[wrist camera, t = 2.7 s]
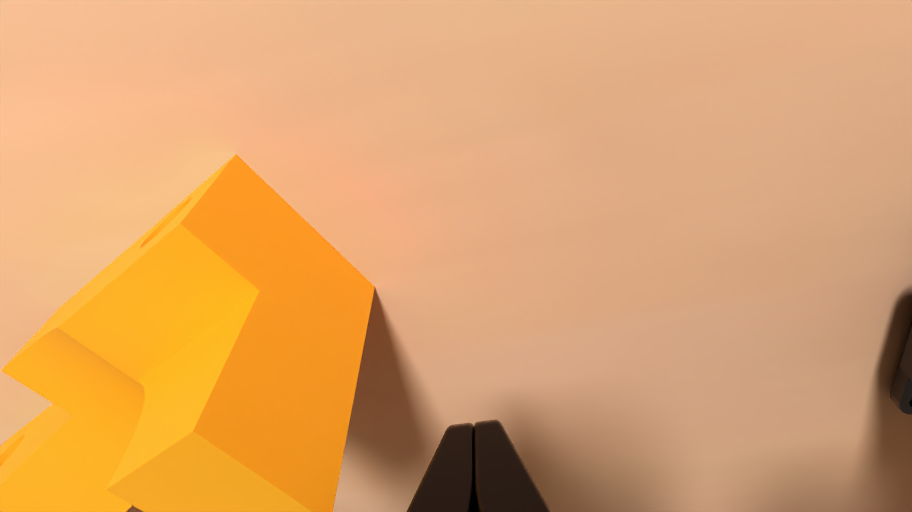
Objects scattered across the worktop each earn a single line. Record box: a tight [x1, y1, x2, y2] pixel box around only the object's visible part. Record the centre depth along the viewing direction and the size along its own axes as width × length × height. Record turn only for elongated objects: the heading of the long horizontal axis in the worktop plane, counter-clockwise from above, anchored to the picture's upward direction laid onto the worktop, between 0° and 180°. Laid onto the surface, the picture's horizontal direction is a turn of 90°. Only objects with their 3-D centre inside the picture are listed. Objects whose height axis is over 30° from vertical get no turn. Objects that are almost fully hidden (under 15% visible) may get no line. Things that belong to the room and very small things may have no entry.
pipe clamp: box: [0, 155, 375, 512], centre depth 13 cm, size 12×4×6 cm, turn 128°
